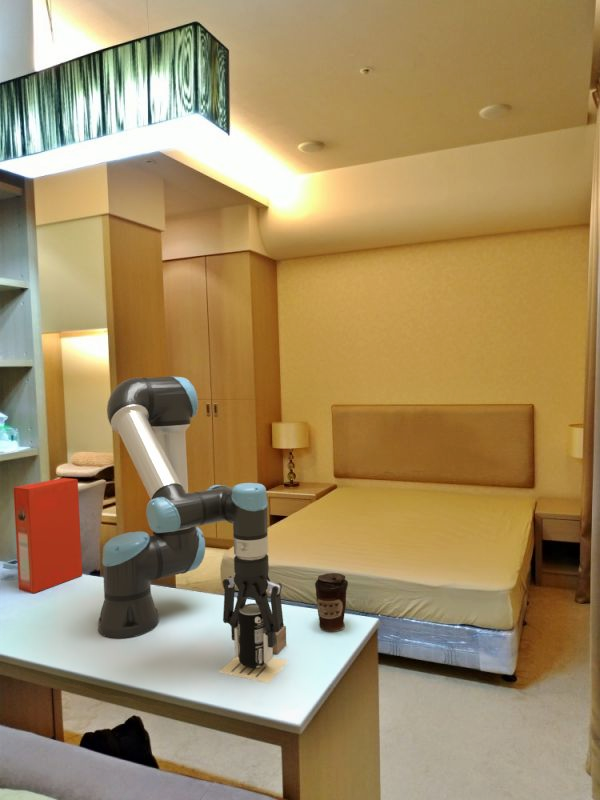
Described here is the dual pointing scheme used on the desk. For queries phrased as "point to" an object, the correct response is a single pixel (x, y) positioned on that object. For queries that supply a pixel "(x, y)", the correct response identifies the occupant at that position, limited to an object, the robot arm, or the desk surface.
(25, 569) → the file binder
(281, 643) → the walnut block
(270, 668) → the letter
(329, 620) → the coffee cup
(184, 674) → the desk surface
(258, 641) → the beverage can
